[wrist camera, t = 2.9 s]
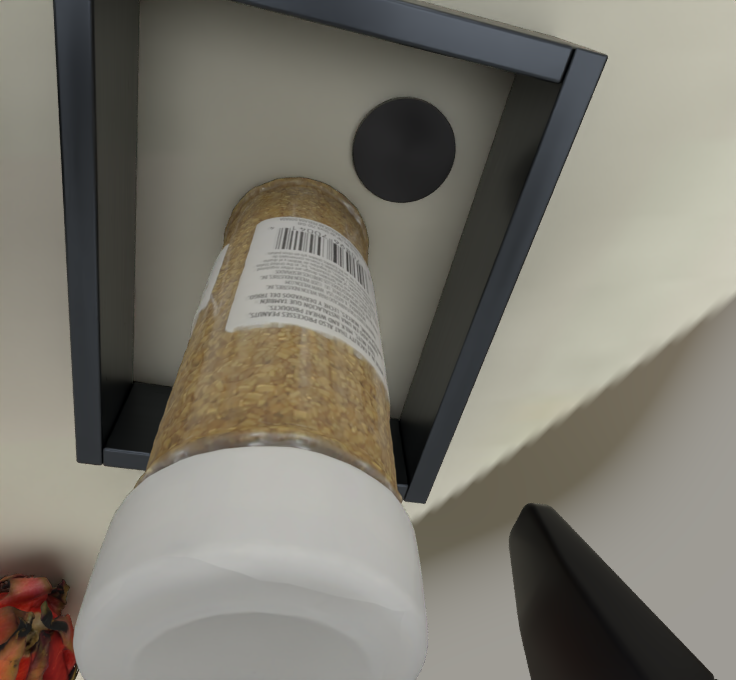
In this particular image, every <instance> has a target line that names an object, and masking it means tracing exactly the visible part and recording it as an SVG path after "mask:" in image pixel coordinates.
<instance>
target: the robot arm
mask: <svg viewBox="0 0 736 680" xmlns="http://www.w3.org/2000/svg"><path fill="white" fill-rule="evenodd" d="M509 550H510V558H511V566H512V574H513V582H514V590H515V598H516V606H517V614H518V620H519V627H520V632H521V637H522V642H523V646H524V650H525V655H526V659H527V664H528V668H529V672H530V676H531V680H717V679H714V676H713V674H712V673H711V672H710V671H709V670H708V669H707V668H706V667H705V666H704V665H703V664H702V663H701V662H700V661H699V660H698V659H697V658H696V656H695V655H694V654H693V653H691V651H690V650H689V649H688V648H687V647H686V646H685V645H684V644H683V643H682V642H681V641H680V640H679V639H678V638H677V637H676V636H675V635H674V634H673V633H672V632H671V630H670V629H669V628H668V627H667V626H666V625H665V624H664V623H663V622H662V621H661V620H660V619H659V618H658V617H657V616H656V615H655V614H654V613H653V612H652V611H651V610H650V609H649V608H648V607H647V606H646V605H645V603H643V601H642V600H641V599H640V598H639V597H638V596H637V595H636V594H635V593H634V592H633V591H632V590H631V589H630V588H629V587H628V586H627V585H626V584H625V583H624V582H623V581H622V580H621V578H619V576H617V574H616V573H615V572H614V571H613V570H612V569H611V568H610V567H609V566H608V565H607V564H606V563H605V562H604V561H603V560H602V559H601V558H600V557H599V556H598V555H597V554H596V553H595V551H593V549H592V548H591V547H590V546H589V545H588V544H587V543H586V542H585V541H584V540H583V539H582V538H581V537H580V536H579V535H578V534H577V533H576V532H575V531H574V530H573V529H572V528H571V527H570V525H569V524H568V523H567V522H566V521H565V520H564V519H563V518H562V517H561V516H560V515H559V514H558V513H557V512H556V511H555V510H554V509H553V508H552V507H550V506H548V505H543V504H534V503H528V504H527V505H525V506H524V508H523V509H522V511H521V513H520V515H519V517H518V519H517V521H516V523H515V524H514V526H513V528H512V530H511V532H510V536H509Z"/></svg>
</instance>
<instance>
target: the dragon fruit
mask: <svg viewBox="0 0 736 680" xmlns="http://www.w3.org/2000/svg"><path fill="white" fill-rule="evenodd" d="M7 575H8V574H7ZM33 576H34V575H32V577H31V578H27V577H28V576H24V575H22V574H19V573H18V574H14V575H11V576H5V577H4V578H3V579H1V580H0V584H1V583H4V582H6V581H8V584H5V583H4V584H5V585H3V587H2V588H3V589H6V588H10V590H9V592H4V593H0V680H75V679H76V677H77V674H78V671H79V668H78V666H77V663H76V658H75V654H74V649H73V637H74V629H73V625H72V621H71V618H70V615H69V614H67V615H66V616H63V615H61V611H62V609H63V608H64V607H65V605H66V603H67V602H66V597H67V591H68V590H69V588H70V587H69V586H68V585H67V584H66V582H65V581H64V580H62V582H61V583H60V584H58V585H57V587H56V588H52V585H51V584H50V582H49V581H48V579H47V578H46V577H37V578H33ZM25 577H26V578H25ZM74 666H75V667H74ZM77 669H78V671H77ZM76 672H77V673H76Z"/></svg>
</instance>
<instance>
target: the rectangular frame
mask: <svg viewBox="0 0 736 680" xmlns="http://www.w3.org/2000/svg"><path fill="white" fill-rule="evenodd" d="M228 1H232V2H236V3H240V4H244V5H248V6H252V7H256V8H260V9H264V10H268V11H272V12H275V13H279V14H283V15H287V16H291V17H295V18H299V19H303V20H307V21H311V22H315V23H319V24H323V25H327V26H331V27H335V28H339V29H342V30H346V31H350V32H354V33H358V34H362V35H366V36H370V37H374V38H378V39H382V40H386V41H390V42H394V43H398V44H402V45H406V46H410V47H413V48H417V49H421V50H425V51H429V52H433V53H437V54H441V55H445V56H449V57H453V58H457V59H461V60H465V61H469V62H473V63H477V64H480V65H484V66H488V67H492V68H496V69H500V70H504V71H508V72H512V73H516V76H515V79H514V82H513V85H512V88H511V91H510V94H509V97H508V100H507V103H506V106H505V109H504V112H503V115H502V118H501V121H500V124H499V127H498V130H497V132H496V135H495V138H494V141H493V144H492V147H491V150H490V153H489V156H488V159H487V162H486V165H485V168H484V171H483V174H482V177H481V180H480V183H479V186H478V189H477V192H476V195H475V198H474V201H473V204H472V207H471V210H470V213H469V215H468V218H467V221H466V224H465V227H464V230H463V233H462V236H461V239H460V242H459V245H458V248H457V251H456V254H455V257H454V260H453V263H452V266H451V269H450V272H449V275H448V278H447V281H446V284H445V287H444V290H443V293H442V296H441V298H440V301H439V304H438V307H437V310H436V313H435V316H434V319H433V322H432V325H431V328H430V331H429V334H428V337H427V340H426V343H425V346H424V349H423V352H422V355H421V358H420V361H419V364H418V367H417V370H416V373H415V376H414V379H413V381H412V384H411V387H410V390H409V393H408V396H407V399H406V402H405V405H404V408H403V411H402V414H401V417H400V420H398V419H393V418H390V421H389V423H390V431H391V437H392V443H393V454H394V461H395V469H396V482H397V489H398V492H399V493H400V495H401V496H402V500H404V501H405V502H414V503H422V504H425V503H426V501H427V498H428V496H429V494H430V491H431V489H432V486H433V484H434V481H435V479H436V476H437V474H438V472H439V469H440V467H441V464H442V462H443V459H444V457H445V454H446V452H447V450H448V447H449V445H450V442H451V440H452V437H453V435H454V432H455V430H456V428H457V425H458V423H459V420H460V418H461V415H462V413H463V410H464V408H465V406H466V403H467V401H468V398H469V396H470V393H471V391H472V388H473V386H474V384H475V381H476V379H477V376H478V374H479V371H480V369H481V366H482V364H483V362H484V359H485V357H486V354H487V352H488V349H489V347H490V345H491V342H492V340H493V337H494V335H495V332H496V330H497V327H498V325H499V323H500V320H501V318H502V315H503V313H504V310H505V308H506V305H507V303H508V301H509V298H510V296H511V293H512V291H513V288H514V286H515V283H516V281H517V279H518V276H519V274H520V271H521V269H522V266H523V264H524V261H525V259H526V257H527V254H528V252H529V249H530V247H531V244H532V242H533V239H534V237H535V235H536V232H537V230H538V227H539V225H540V222H541V220H542V217H543V215H544V213H545V210H546V208H547V205H548V203H549V200H550V198H551V195H552V193H553V191H554V188H555V186H556V183H557V181H558V178H559V176H560V173H561V171H562V169H563V166H564V164H565V161H566V159H567V156H568V154H569V151H570V149H571V147H572V144H573V142H574V139H575V137H576V134H577V132H578V130H579V127H580V125H581V122H582V120H583V117H584V115H585V112H586V110H587V108H588V105H589V103H590V100H591V98H592V95H593V93H594V90H595V88H596V86H597V83H598V81H599V78H600V76H601V73H602V71H603V68H604V66H605V64H606V61H607V59H608V56H607V55H606V54H603V53H600V52H597V51H594V50H591V49H589V48H586V47H583V46H580V45H577V44H574V43H571V42H568V41H566V40H563V39H560V38H557V37H553V36H550V35H546V34H542V33H538V32H535V31H530V30H527V29H523V28H520V27H516V26H512V25H508V24H505V23H501V22H497V21H494V20H490V19H486V18H482V17H479V16H475V15H471V14H467V13H464V12H460V11H456V10H452V9H449V8H445V7H441V6H438V5H434V4H430V3H426V2H423V1H419V0H228ZM53 11H54V30H55V50H56V69H57V88H58V108H59V127H60V147H61V166H62V185H63V205H64V224H65V244H66V263H67V283H68V302H69V321H70V341H71V360H72V380H73V399H74V418H75V438H76V457H77V462H78V463H84V464H93V465H102V464H103V465H104V466H109V467H118V468H126V469H135V470H143V471H146V468H147V464H148V461H149V458H150V454H151V451H152V448H153V443H154V440H155V437H156V435H157V432H158V429H159V425H160V422H161V420H162V418H163V416H164V412H165V409H166V405H167V402H168V399H169V396H170V394H171V391H172V388H173V387H166V386H159V385H152V384H145V383H138V382H134V383H133V335H134V277H135V219H136V161H137V103H138V45H139V0H53ZM454 158H455V138H454V134H453V131H452V128H451V126H450V124H449V122H448V121H447V119H446V118H445V116H444V115H443V114H442V113H441V112H440V111H439V110H438V109H437V108H436V107H435V106H433V105H432V104H430V103H428V102H426V101H424V100H421V99H417V98H411V97H401V98H395V99H391V100H388V101H386V102H383V103H382V104H380V105H378V106H377V107H375V108H374V109H373V110H371V111H370V112H369V113H368V114H367V115H366V117H365V118H364V119H363V121H362V122H361V124H360V125H359V127H358V129H357V132H356V134H355V138H354V143H353V161H354V166H355V169H356V172H357V175H358V176H359V178H360V180H361V182H362V183H363V184H364V186H365V187H366V188H367V189H368V190H369V191H371V192H372V193H373V194H375V195H376V196H378V197H380V198H382V199H384V200H387V201H391V202H398V203H405V202H412V201H416V200H419V199H422V198H424V197H426V196H428V195H429V194H431V193H432V192H434V191H435V190H436V189H437V188H438V187H439V186H440V185H441V184H442V183H443V182H444V181H445V179H446V178H447V176H448V174H449V172H450V170H451V168H452V165H453V162H454Z"/></svg>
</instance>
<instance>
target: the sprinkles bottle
mask: <svg viewBox="0 0 736 680" xmlns="http://www.w3.org/2000/svg"><path fill="white" fill-rule="evenodd" d="M368 247H369V239H368V234H367V230H366V226H365V224H364V222H363V219H362V217H361V215H360V214H359V212H358V210H357V209H356V207H355V206H354V205H353V204H352V203H351V202H350V201H348V199H347V198H346V197H345V196H344V195H343V194H341V193H340V192H338V191H336V190H334V189H333V188H332V187H331V186H329V185H327V184H324V183H322V182H318V181H315V180H312V179H309V178H302V177H296V178H282V179H275V180H273V181H271V182H268V183H264V184H262V185H260V186H257V187H255V188H253V189H252V190H250V191H249V192H248V193H247V194H246V195H245V196H244V197H243V198H242V199H241V200H240V202H239V203H238V204H237V205H236V207H235V208H234V209H233V211H232V214H231V217H230V218H229V221H228V224H227V226H226V228H225V233H224V244H223V248H222V250H221V252H220V253H219V255H218V257H217V259H216V261H215V263H214V265H213V268H212V270H211V273H210V275H209V278H208V281H207V283H206V286H205V289H204V292H203V295H202V298H201V301H200V303H199V306H198V309H197V311H196V314H195V317H194V320H193V324H192V329H191V334H190V340H189V343H188V347H187V350H186V351H185V353H184V357H183V360H182V363H181V365H180V367H179V371H178V374H177V378H176V380H175V383H174V385H173V388H172V391H171V394H170V396H169V399H168V402H167V405H166V409H165V412H164V416H163V418H162V420H161V422H160V425H159V429H158V432H157V435H156V437H155V440H154V443H153V448H152V451H151V454H150V458H149V461H148V464H147V468H146V472H145V473H144V474H143V475H142V476H141V477H140V478H139V480H138V481H137V483H136V485H135V487H134V489H133V490H132V491H131V492H130V493H129V494H128V496H127V497H126V498H125V499H124V500H123V502H122V503H121V505H120V506H119V508H118V509H117V510H116V512H115V514H114V516H113V518H112V520H111V522H110V525H109V528H108V530H107V533H106V536H105V538H104V541H103V544H102V546H101V549H100V552H99V554H98V557H97V560H96V563H95V566H94V569H93V572H92V575H91V578H90V581H89V584H88V587H87V590H86V593H85V596H84V599H83V602H82V605H81V609H80V612H79V615H78V619H77V622H76V626H75V629H74V637H73V649H74V654H75V658H76V663H77V666H78V668H79V671H80V673H81V675H82V677H83V678H84V680H416V678H417V677H418V675H419V673H420V672H421V670H422V667H423V665H424V662H425V658H426V653H427V648H428V624H427V614H426V605H425V597H424V589H423V581H422V573H421V565H420V559H419V553H418V547H417V542H416V536H415V532H414V528H413V526H412V523H411V521H410V518H409V516H408V514H407V512H406V511H405V509H404V507H403V506H402V504H401V503H402V501H403V500H402V496H401V495H400V493H399V492H398V489H397V482H396V469H395V461H394V454H393V443H392V437H391V431H390V423H389V421H390V399H389V392H388V384H387V377H386V369H385V361H384V355H383V348H382V341H381V334H380V327H379V320H378V313H377V306H376V299H375V292H374V286H373V281H372V277H371V274H370V271H369V269H368V262H367V261H368Z"/></svg>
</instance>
